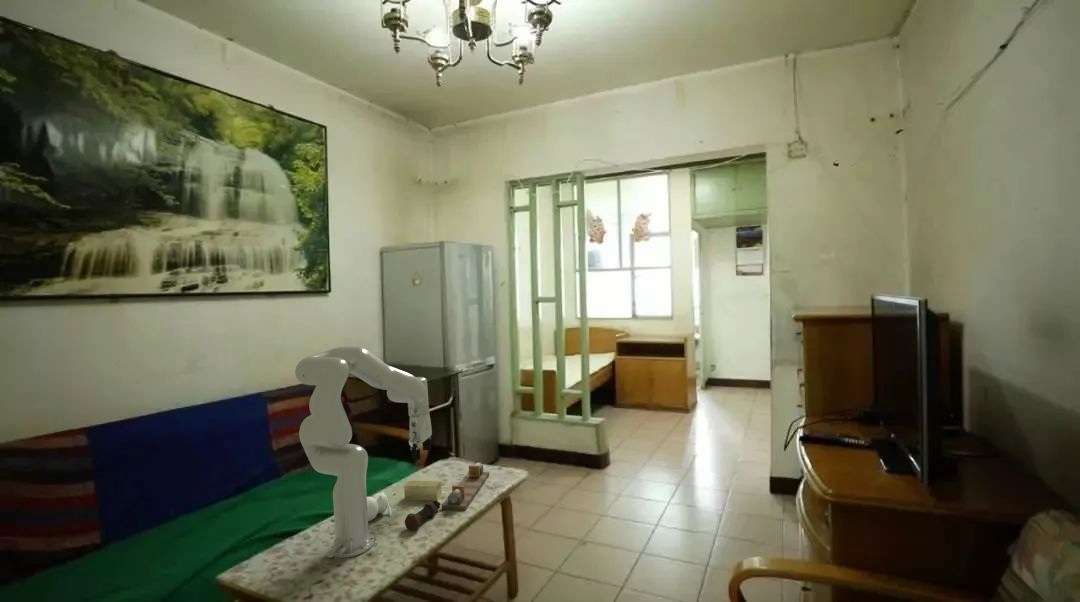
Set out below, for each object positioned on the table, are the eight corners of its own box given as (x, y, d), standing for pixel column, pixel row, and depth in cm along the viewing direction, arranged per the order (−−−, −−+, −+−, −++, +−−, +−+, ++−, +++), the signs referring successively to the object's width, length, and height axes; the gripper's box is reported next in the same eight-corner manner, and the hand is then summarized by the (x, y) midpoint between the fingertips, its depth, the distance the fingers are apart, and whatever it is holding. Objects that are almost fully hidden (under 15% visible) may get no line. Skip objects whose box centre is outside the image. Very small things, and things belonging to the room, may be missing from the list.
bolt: (439, 515, 161) (413, 535, 147) (428, 506, 162) (402, 525, 148) (445, 501, 160) (420, 521, 146) (435, 493, 161) (408, 511, 147)
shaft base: (465, 510, 159) (465, 492, 159) (441, 509, 161) (440, 492, 160) (489, 475, 189) (488, 461, 189) (468, 475, 190) (467, 460, 190)
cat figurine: (383, 483, 163) (355, 495, 153) (401, 503, 159) (374, 517, 148) (375, 501, 165) (347, 514, 155) (393, 521, 161) (365, 537, 150)
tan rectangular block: (437, 501, 168) (436, 486, 168) (404, 500, 170) (404, 485, 170) (441, 495, 172) (441, 481, 172) (410, 494, 174) (409, 480, 174)
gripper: (418, 416, 162) (421, 463, 162) (436, 404, 179) (439, 446, 179) (398, 417, 163) (402, 463, 163) (419, 404, 180) (422, 446, 180)
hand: (421, 454), depth 171 cm, fingers open, 9 cm apart
